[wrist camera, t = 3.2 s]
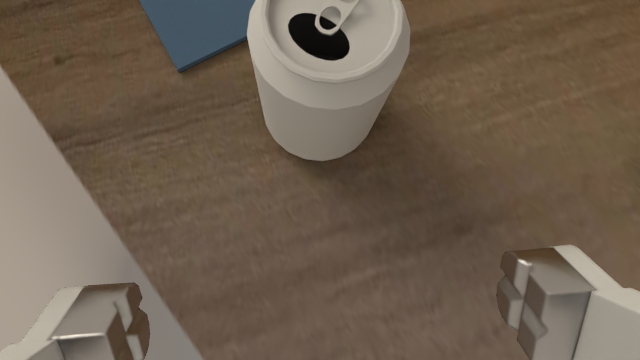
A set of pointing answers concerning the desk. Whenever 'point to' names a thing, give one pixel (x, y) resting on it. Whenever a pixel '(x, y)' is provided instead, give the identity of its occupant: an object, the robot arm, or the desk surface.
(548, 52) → the desk surface
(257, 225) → the desk surface
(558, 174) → the desk surface
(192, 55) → the mat
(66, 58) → the desk surface
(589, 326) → the robot arm
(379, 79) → the can
